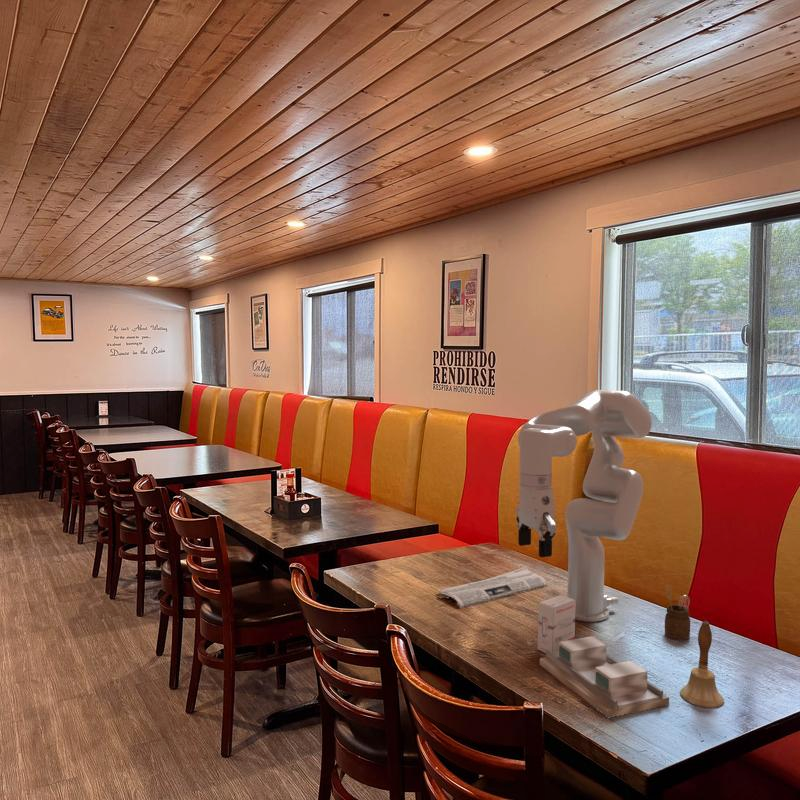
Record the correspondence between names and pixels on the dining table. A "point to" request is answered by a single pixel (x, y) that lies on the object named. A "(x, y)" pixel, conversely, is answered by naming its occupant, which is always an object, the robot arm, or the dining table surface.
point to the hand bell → (702, 676)
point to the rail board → (603, 678)
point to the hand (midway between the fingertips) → (534, 550)
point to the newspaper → (494, 587)
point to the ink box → (555, 622)
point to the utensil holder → (677, 619)
